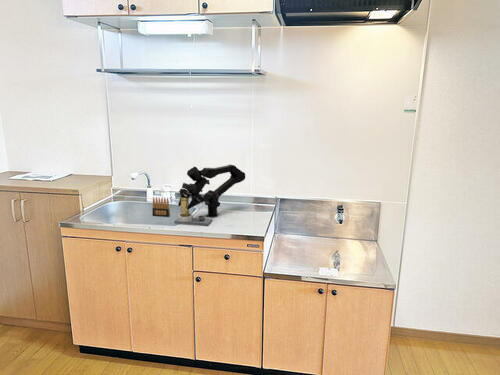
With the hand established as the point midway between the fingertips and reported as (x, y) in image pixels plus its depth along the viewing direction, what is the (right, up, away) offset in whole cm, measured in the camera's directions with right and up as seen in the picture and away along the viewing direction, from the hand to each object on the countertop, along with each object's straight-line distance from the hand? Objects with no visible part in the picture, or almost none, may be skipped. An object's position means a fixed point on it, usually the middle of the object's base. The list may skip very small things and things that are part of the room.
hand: (182, 207), depth 213 cm
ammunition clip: (-16, -6, +13) cm, 21 cm away
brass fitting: (+1, -7, +3) cm, 8 cm away
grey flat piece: (+6, -9, +2) cm, 11 cm away
